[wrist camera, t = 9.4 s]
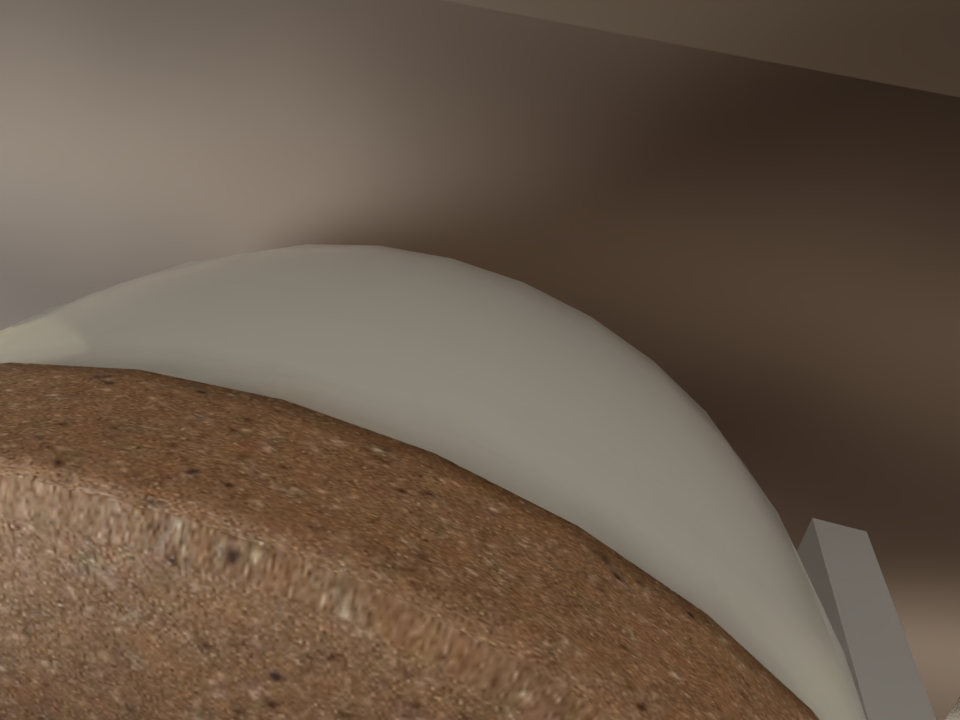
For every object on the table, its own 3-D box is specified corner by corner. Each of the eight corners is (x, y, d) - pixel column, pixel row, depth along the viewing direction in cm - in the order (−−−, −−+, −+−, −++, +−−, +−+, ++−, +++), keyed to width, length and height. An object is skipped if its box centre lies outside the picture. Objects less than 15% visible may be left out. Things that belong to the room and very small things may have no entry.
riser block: (815, 717, 21) (878, 1028, 14) (138, 522, 23) (-54, 717, 17) (1220, -22, 12) (1781, -30, 6) (90, -206, 15) (-327, -345, 8)
